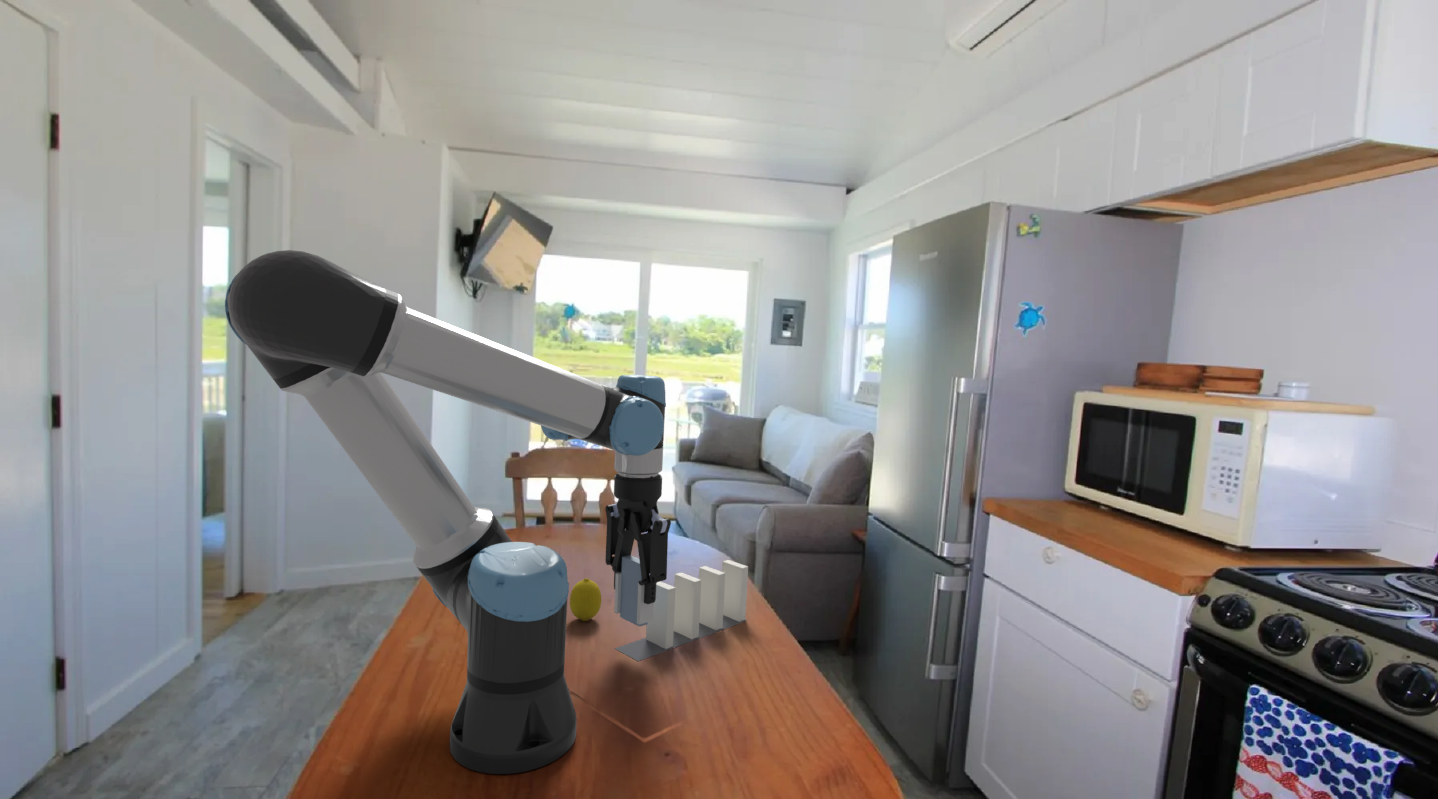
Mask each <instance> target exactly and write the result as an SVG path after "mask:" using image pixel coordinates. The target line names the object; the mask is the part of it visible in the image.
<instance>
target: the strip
mask: <svg viewBox="0 0 1438 799" xmlns="http://www.w3.org/2000/svg"><path fill="white" fill-rule="evenodd" d="M745 622H748V619H746V618H745V620H743V621H740V622H739V621H736V620H734V619H731V618H729V617H727V616H724V615H723V627H722V628H721V629H718V630H714V629H712V628H710V627H708V626H705V625H703V624H701V623H699V637H697V638H694V639H690V638H688V637H686V636H684V635H681V634H679V633H677V632H675V631H674V633H673V647H670V648H667V649H664V648H662V647H660V646H658V645H656V644H654V643H652V642H650V641H648V640H646V637H644V638H641V639H638V640H637V639H636V640H634V641H632V642H628V643H626V644H623V645H620V646H617V647H614V649H615V650H616V651H618V652H620V653H622V654H624V655H625V656H627V657H629V658H631V659H632V660H635V661H637V662H641V661H643V660H645V659H648V658H651V657H654V656H656V655H659V654H662V653H664V652H668V651H669V650H670V651H671V650H672V649H675V648H678V647H680V646H684V645H687V644H688V643H691V642H694V641H696V640H699V639H702V638H704V637H708V636H710V635H713V634H715V633H719V632H721V631H723V630H726V629H729V628H731V627H734V626H737V625H739V624H741V623H745Z"/></svg>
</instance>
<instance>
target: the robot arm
mask: <svg viewBox="0 0 1438 799" xmlns="http://www.w3.org/2000/svg"><path fill="white" fill-rule="evenodd" d="M224 311H225V315H226V320H227V322H228V325H229V326H230V328H231V330H232V331H233V333H234V334H235V336H236V337H237V338H238V339H239V340H240V341H241V342H242V343H243V344H244V345H246V346H247V348H248V349H249V350H250V351H251V352H252V354H253V356H254V357H255V358H256V359H257V361H259V363H260V364H261V365H262V367H263V368H264V370H266V372H267V374H268V375H269V376H270V378H271V379H272V380H273V381H274V383H275V384H276V385H277V386H278V388H279V390H281V391H283V392H287V393H291V394H292V393H293V394H297V395H299V396H302V397H304V399H306V401H307V403H309V405H310V406H311V407H312V409H313V411H314V412H315V413H316V414H317V415H318V417H319V418H320V419H321V421H322V422H323V423H324V425H325V426H326V427H327V429H328V431H329V432H330V433H331V434H332V435H333V437H334V438H335V439H336V441H337V442H338V443H339V445H340V446H341V448H342V449H343V450H344V452H346V454H347V455H348V457H349V458H350V460H351V461H352V462H353V463H354V465H355V466H356V468H357V469H358V470H359V471H360V472H361V474H362V475H363V477H364V478H365V480H367V482H368V483H369V484H370V486H371V488H372V489H373V490H374V491H375V493H376V494H377V495H378V497H379V498H380V499H381V501H382V502H383V503H384V506H386V508H387V509H388V510H389V511H390V513H391V514H392V515H393V517H394V518H395V520H396V521H397V523H399V524H400V526H401V528H402V529H403V530H404V531H405V533H406V534H407V535H408V537H409V539H411V541H412V542H413V544H414V545H415V546H416V547H415V549H414V553H413V559H412V562H413V563H414V565H415V567H416V568H417V570H418V572H420V573H421V575H422V577H424V579H425V580H426V581H427V583H428V584H429V585H430V587H432V592H433V594H434V596H436V597H435V598H437V599H438V600H439V602H440V603H441V604H442V605H443V606H444V607H446V608H448V610H449V612H450V613H451V614H452V615H453V616H454V617H455V618H456V620H457V621H458V622H459V623H460V625H462V627H463V628H464V629H465V630H466V634H467V655H466V656H467V657H466V658H467V659H466V661H467V663H466V667H467V668H466V683H465V685H464V689H463V691H462V694H461V697H460V700H459V702H458V705H457V709H456V711H455V713H454V716H453V718H452V721H451V724H450V725H451V726H450V731H449V751H450V754H451V756H452V758H453V759H454V760H455V761H456V762H457V763H458V764H460V765H461V766H463V767H464V768H467V769H469V770H471V771H475V772H478V773H484V774H489V775H490V774H491V775H493V774H494V775H509V774H518V773H525V772H529V771H532V770H535V769H539V768H541V767H544V766H546V765H548V764H549V765H550V764H551V763H553V762H555V761H557V760H558V759H560V758H561V757H562V756H564V755H565V754H566V753H567V752H568V751H569V750H570V749H571V748H572V746H573V745H574V743H575V741H576V737H577V722H578V721H577V720H578V719H577V713H576V709H575V707H574V703H573V700H572V697H571V693H570V691H569V690H570V689H569V686H568V684H567V680H566V676H565V660H566V637H567V636H566V635H567V631H566V630H567V616H568V615H567V614H568V598H569V592H570V590H569V588H570V583H569V580H568V579H569V578H568V567H567V563H566V561H565V559H564V558H563V557H562V556H561V554H560V553H558V552H557V551H555V550H554V549H552V548H550V547H548V546H545V545H536V544H535V543H534V542H526V541H512V539H511V538H510V536H509V535H508V534H507V532H506V530H505V529H504V527H503V526H502V524H501V523H500V522H499V521H498V519H497V518H496V516H495V514H494V513H493V512H492V510H491V509H489V508H486V507H479V506H477V507H476V506H474V505H473V503H472V502H471V501H470V499H469V497H468V496H467V494H466V493H465V492H464V490H463V489H462V488H461V486H460V484H459V483H458V481H457V480H456V478H454V476H453V474H452V473H451V471H450V470H449V469H448V467H447V465H446V464H445V462H444V461H443V460H442V458H441V457H440V455H439V454H438V452H437V451H436V450H435V448H434V447H433V445H432V443H430V441H429V440H428V438H427V436H426V435H425V434H424V432H423V431H422V430H421V428H420V426H419V425H418V424H417V422H416V421H415V419H414V417H413V416H412V415H411V414H410V411H408V409H407V408H406V406H405V404H404V403H403V401H401V399H400V397H399V396H398V394H397V393H396V391H395V390H394V389H393V387H392V386H391V384H390V383H389V382H388V380H387V379H386V377H385V376H384V374H385V375H388V376H391V377H394V378H397V379H400V380H403V381H406V382H410V383H411V384H416V385H418V386H420V387H424V388H426V389H431V390H433V391H436V392H438V393H439V392H440V393H442V394H446V395H448V396H452V397H453V398H457V399H460V400H464V401H466V402H469V403H472V404H475V405H478V406H482V407H484V408H487V409H491V410H493V411H496V412H499V413H503V414H506V415H509V416H511V417H515V418H518V419H520V420H524V421H527V422H529V423H533V424H535V425H538V426H540V427H541V431H542V433H543V434H544V436H545V437H546V438H547V439H548V440H555V441H556V440H558V441H569V440H581V441H583V442H586V443H590V444H592V445H596V446H600V447H602V448H603V447H604V448H607V449H609V450H612V451H614V466H613V467H614V468H613V469H614V470H615V472H617V473H615V475H614V478H613V479H614V480H613V496H614V497H615V498H616V499H617V502H616V503H614V504H608V505H606V506H605V508H604V510H605V514H606V521H607V522H606V536H605V537H606V539H605V558H604V559H605V565H607V566H610V567H611V569H612V571H613V572H614V573H613V574H614V575H613V590H614V608H613V609H614V610H613V612H614V613H615V614H620V605H621V577H622V557H624V556H628V555H631V556H632V551H633V547H634V542H635V541H636V542H637V550H638V558H639V560H640V568H641V576H642V581H638V582H639V583H638V601H637V624H639V625H640V624H643V623H646V622H649V621H652V620H653V606H654V602H655V600H656V583H657V582H660V581H661V582H664V581H666V580H667V574H668V549H669V548H668V544H669V542H668V541H669V532H670V528H671V524H672V521H671V519H670V518H668V517H667V518H663V517H662V516H661V515H660V514H659V509H658V505H657V504H658V500H660V498H661V497H662V495H663V494H662V491H663V476H662V475H661V474H660V473H661V472H662V471H663V462H664V461H663V459H664V457H663V456H664V439H665V438H664V437H665V436H664V435H665V417H666V415H665V414H666V413H665V412H666V407H667V403H666V384H665V381H664V379H663V378H662V377H660V376H657V375H650V374H649V375H647V374H646V375H645V374H621V375H620V376H618V378H617V381H616V382H617V383H616V385H615V387H608V386H605V385H603V384H600V383H599V382H597V381H596V382H595V381H594V380H591V379H588V378H586V377H584V376H581V375H578V374H576V373H573V372H571V371H568V370H565V369H562V368H561V367H558V366H556V365H553V364H551V363H548V362H545V361H543V360H541V359H538V358H536V357H533V356H531V355H528V354H526V353H523V352H520V351H518V350H515V349H513V348H510V347H508V346H505V345H503V344H500V343H498V342H495V341H492V340H490V339H488V338H485V337H483V336H481V335H478V334H475V333H472V332H470V331H467V330H465V329H462V328H460V327H458V326H455V325H452V324H450V323H448V322H445V321H442V320H440V319H438V318H436V317H432V316H430V315H428V314H425V313H422V312H420V311H417V310H415V309H412V308H410V307H408V306H407V305H406V303H405V301H404V299H403V297H402V295H401V294H400V293H397V292H395V291H392V290H390V289H388V288H385V287H383V286H380V285H378V284H376V283H374V282H371V281H370V280H368V279H366V278H364V277H361V276H359V275H357V274H355V273H353V272H351V271H350V270H347V269H346V268H344V267H341V266H339V264H336V263H335V262H332V261H330V260H328V259H325V258H323V257H321V256H319V255H316V254H313V253H309V252H305V251H300V250H291V249H288V250H287V249H286V250H276V251H272V252H268V253H265V254H262V255H260V256H257V257H256V258H254V259H252V260H251V261H250V262H248V263H247V264H245V266H243V267H242V268H241V269H240V271H238V273H237V274H236V275H235V276H234V277H233V279H231V282H230V284H229V285H228V287H227V291H226V294H225V300H224Z"/></svg>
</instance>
